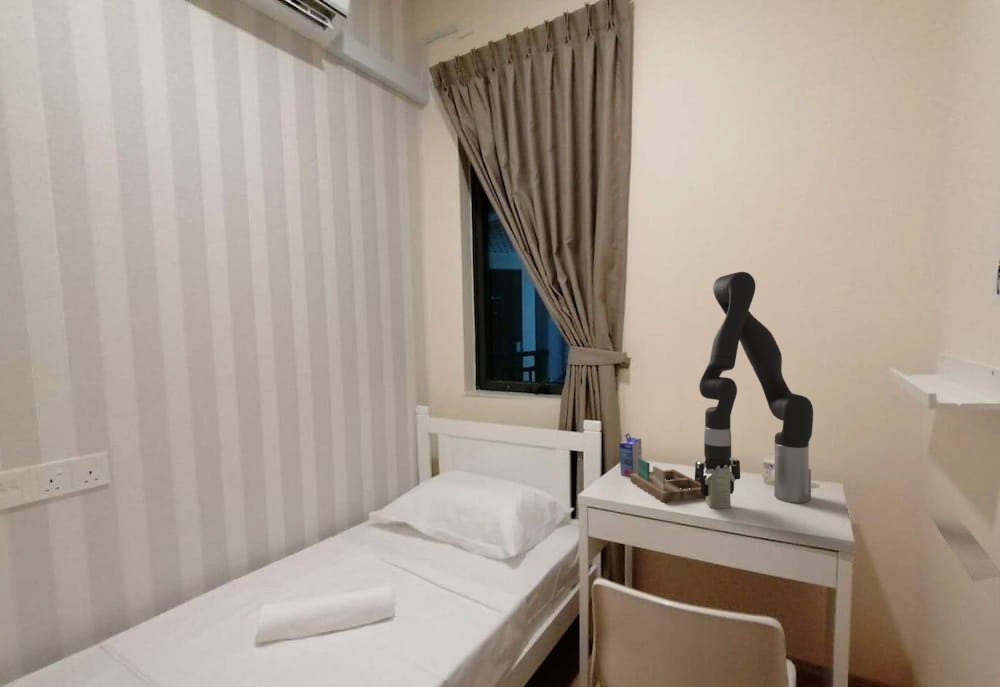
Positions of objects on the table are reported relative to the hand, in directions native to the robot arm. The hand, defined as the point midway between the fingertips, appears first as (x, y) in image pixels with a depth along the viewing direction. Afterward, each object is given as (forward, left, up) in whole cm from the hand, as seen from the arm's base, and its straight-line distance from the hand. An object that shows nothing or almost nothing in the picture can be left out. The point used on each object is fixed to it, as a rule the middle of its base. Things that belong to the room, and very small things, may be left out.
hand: (717, 494), depth 149 cm
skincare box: (0, 0, -4) cm, 4 cm away
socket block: (+6, -17, -3) cm, 18 cm away
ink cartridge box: (+9, -37, -4) cm, 38 cm away
